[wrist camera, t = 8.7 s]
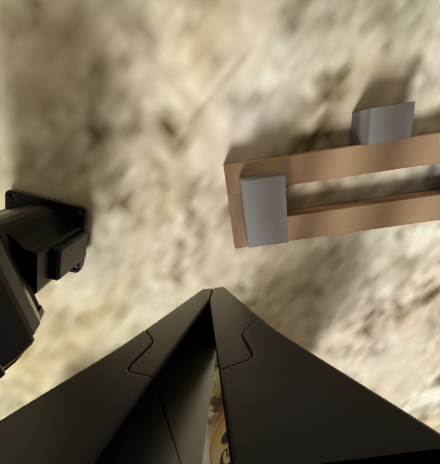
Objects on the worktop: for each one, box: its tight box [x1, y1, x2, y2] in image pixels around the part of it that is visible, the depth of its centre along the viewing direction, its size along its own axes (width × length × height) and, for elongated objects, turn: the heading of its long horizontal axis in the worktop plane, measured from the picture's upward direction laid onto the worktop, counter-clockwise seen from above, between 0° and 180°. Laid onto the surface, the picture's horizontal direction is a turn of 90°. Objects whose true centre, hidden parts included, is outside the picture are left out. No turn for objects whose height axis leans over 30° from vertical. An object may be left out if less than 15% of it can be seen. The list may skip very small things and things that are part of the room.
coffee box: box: [202, 367, 230, 464], centre depth 21 cm, size 9×6×16 cm
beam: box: [223, 101, 440, 248], centre depth 19 cm, size 24×9×4 cm, turn 98°
